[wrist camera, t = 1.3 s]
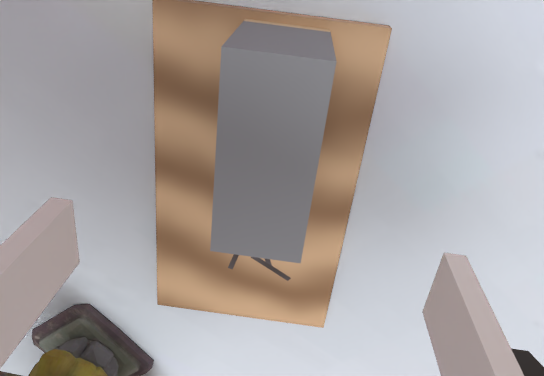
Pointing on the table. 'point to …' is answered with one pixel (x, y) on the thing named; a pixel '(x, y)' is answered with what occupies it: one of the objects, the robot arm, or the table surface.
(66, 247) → the robot arm
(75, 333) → the statue
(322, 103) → the block
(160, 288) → the oak board
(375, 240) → the table surface
